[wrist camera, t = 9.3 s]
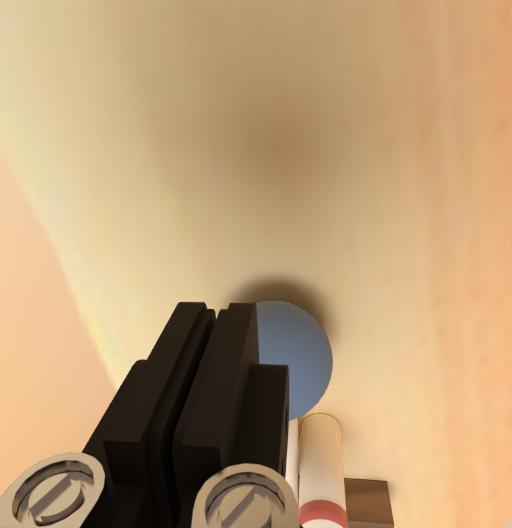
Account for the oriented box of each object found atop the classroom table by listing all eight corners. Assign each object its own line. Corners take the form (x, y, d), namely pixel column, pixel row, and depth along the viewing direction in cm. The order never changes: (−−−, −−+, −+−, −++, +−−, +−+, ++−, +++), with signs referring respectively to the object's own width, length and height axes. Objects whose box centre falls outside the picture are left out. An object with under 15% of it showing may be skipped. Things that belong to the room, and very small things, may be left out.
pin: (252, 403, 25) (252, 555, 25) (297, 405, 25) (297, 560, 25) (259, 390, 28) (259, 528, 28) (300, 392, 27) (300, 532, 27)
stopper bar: (240, 471, 30) (233, 512, 28) (386, 481, 29) (394, 524, 27) (241, 488, 31) (234, 529, 28) (384, 498, 30) (391, 542, 27)
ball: (210, 447, 22) (228, 359, 27) (333, 452, 21) (329, 361, 26) (192, 357, 19) (216, 277, 24) (337, 360, 18) (331, 277, 23)
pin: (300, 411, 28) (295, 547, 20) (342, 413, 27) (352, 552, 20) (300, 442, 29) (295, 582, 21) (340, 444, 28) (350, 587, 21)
